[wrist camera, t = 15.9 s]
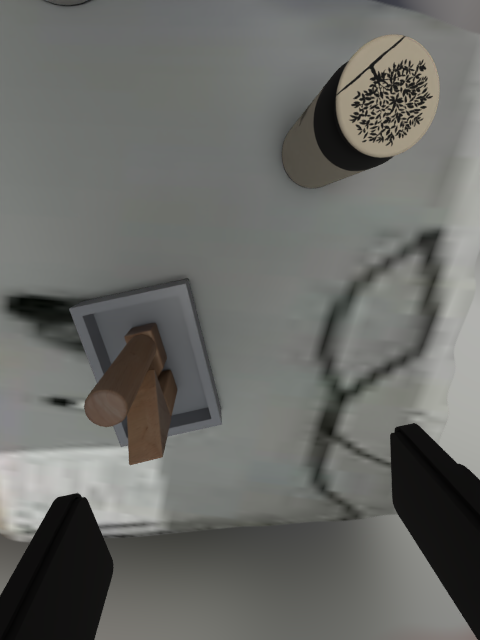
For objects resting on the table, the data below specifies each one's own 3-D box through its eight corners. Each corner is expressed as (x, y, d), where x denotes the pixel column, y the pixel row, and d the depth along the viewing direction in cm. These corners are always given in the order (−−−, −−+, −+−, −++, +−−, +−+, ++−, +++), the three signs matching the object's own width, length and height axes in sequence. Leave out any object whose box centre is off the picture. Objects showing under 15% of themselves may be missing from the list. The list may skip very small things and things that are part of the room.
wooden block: (154, 396, 46) (118, 496, 29) (130, 327, 43) (74, 394, 26) (178, 389, 46) (157, 487, 29) (156, 321, 43) (118, 384, 26)
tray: (82, 301, 42) (69, 308, 38) (188, 278, 43) (185, 283, 39) (128, 429, 48) (120, 446, 44) (221, 408, 48) (221, 424, 45)
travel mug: (354, 167, 40) (459, 122, 23) (299, 200, 41) (361, 181, 24) (327, 103, 38) (421, 2, 21) (269, 140, 39) (314, 70, 21)
